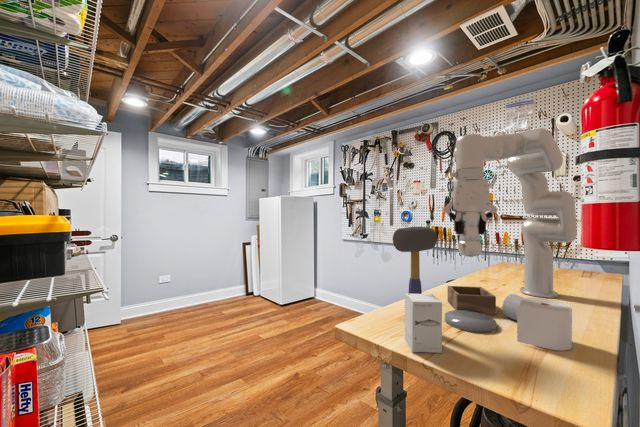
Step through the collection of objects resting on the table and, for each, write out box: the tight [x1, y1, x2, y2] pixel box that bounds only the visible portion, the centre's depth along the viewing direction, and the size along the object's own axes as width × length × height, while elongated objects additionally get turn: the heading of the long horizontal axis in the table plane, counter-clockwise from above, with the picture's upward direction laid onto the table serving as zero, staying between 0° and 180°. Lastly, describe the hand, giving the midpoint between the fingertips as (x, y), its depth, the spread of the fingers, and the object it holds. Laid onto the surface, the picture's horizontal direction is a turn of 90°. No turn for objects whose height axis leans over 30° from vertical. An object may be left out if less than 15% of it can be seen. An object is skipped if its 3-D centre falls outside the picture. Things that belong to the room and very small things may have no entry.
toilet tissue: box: [516, 296, 573, 351], centre depth 73 cm, size 11×12×10 cm
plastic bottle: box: [457, 205, 483, 258], centre depth 86 cm, size 6×7×20 cm
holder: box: [447, 285, 497, 315], centre depth 99 cm, size 12×12×6 cm
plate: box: [444, 309, 498, 334], centre depth 85 cm, size 14×14×2 cm
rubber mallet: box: [392, 226, 438, 294], centre depth 83 cm, size 12×8×30 cm, turn 119°
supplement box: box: [404, 293, 443, 354], centre depth 71 cm, size 7×7×13 cm
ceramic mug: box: [502, 293, 524, 322], centre depth 87 cm, size 11×8×8 cm
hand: (469, 233), depth 86 cm, fingers closed on plastic bottle, 5 cm apart
